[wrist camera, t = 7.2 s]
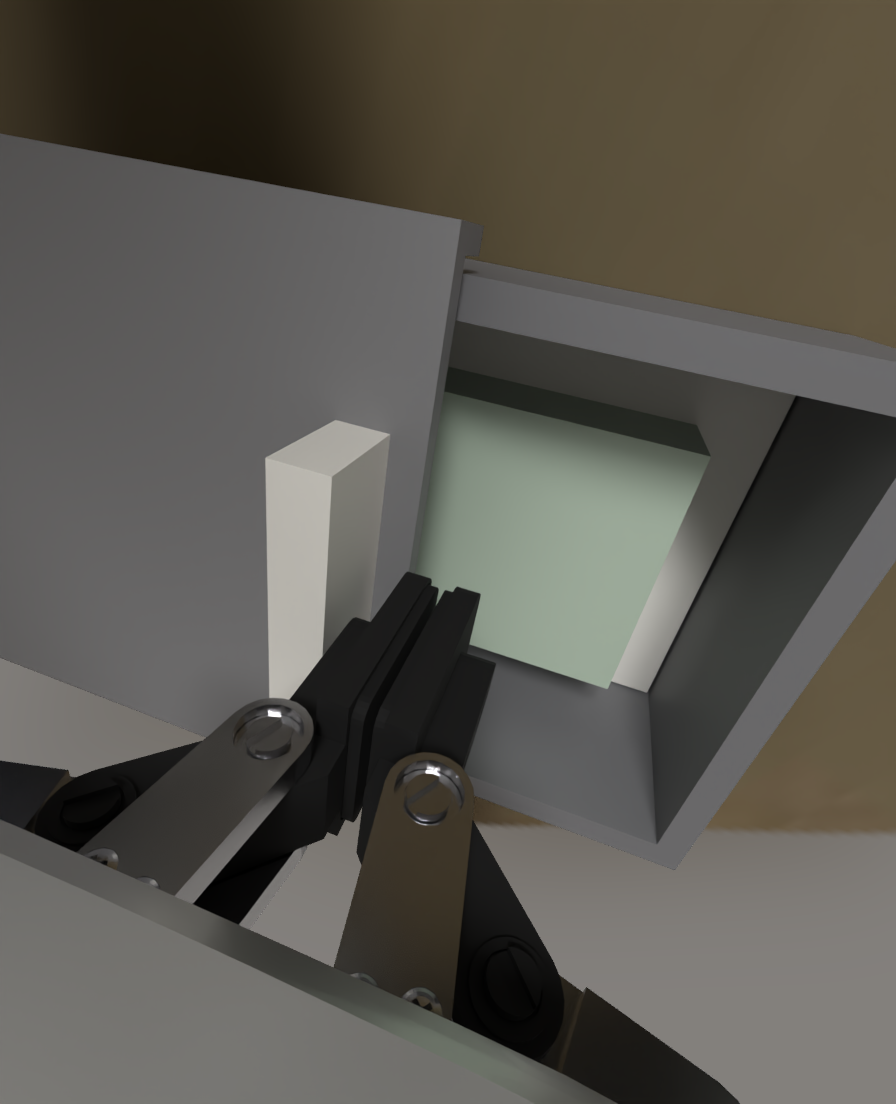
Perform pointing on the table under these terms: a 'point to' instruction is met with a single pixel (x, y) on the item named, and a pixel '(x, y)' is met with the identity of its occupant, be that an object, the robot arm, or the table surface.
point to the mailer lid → (208, 422)
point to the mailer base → (745, 594)
